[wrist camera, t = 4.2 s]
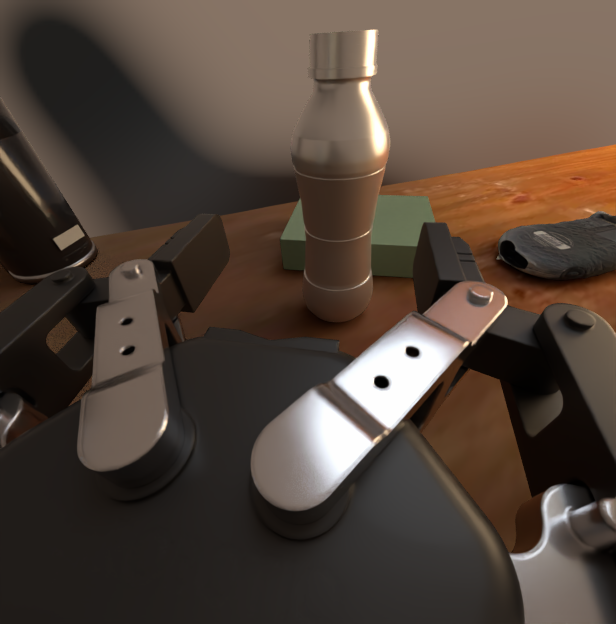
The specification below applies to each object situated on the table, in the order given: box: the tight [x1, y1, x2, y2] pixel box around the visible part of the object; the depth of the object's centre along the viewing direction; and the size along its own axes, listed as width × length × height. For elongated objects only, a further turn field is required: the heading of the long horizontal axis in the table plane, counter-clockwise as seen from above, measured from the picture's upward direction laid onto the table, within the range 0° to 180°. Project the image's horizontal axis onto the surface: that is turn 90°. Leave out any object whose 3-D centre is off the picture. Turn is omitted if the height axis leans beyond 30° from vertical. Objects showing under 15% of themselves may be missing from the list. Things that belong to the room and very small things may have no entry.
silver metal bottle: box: [290, 30, 391, 322], centre depth 22 cm, size 6×7×20 cm
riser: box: [280, 195, 435, 278], centre depth 36 cm, size 17×13×4 cm
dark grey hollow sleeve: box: [497, 211, 616, 280], centre depth 32 cm, size 9×6×15 cm
